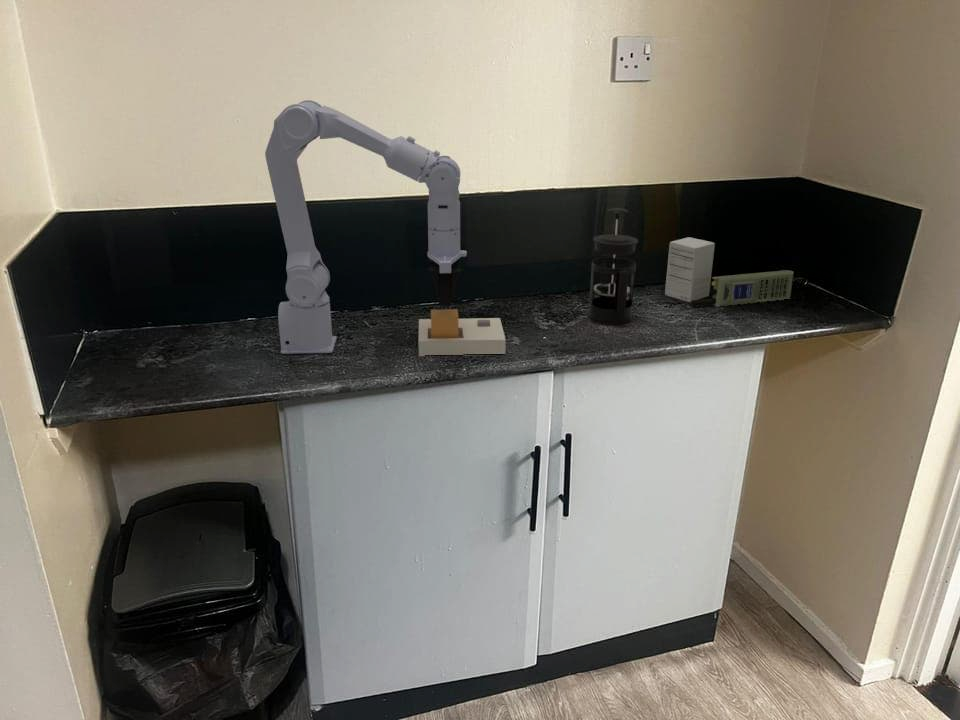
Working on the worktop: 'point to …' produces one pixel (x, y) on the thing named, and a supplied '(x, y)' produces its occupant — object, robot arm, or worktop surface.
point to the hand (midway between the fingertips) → (444, 300)
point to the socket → (464, 338)
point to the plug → (444, 323)
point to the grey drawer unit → (689, 269)
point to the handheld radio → (749, 288)
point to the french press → (612, 295)
